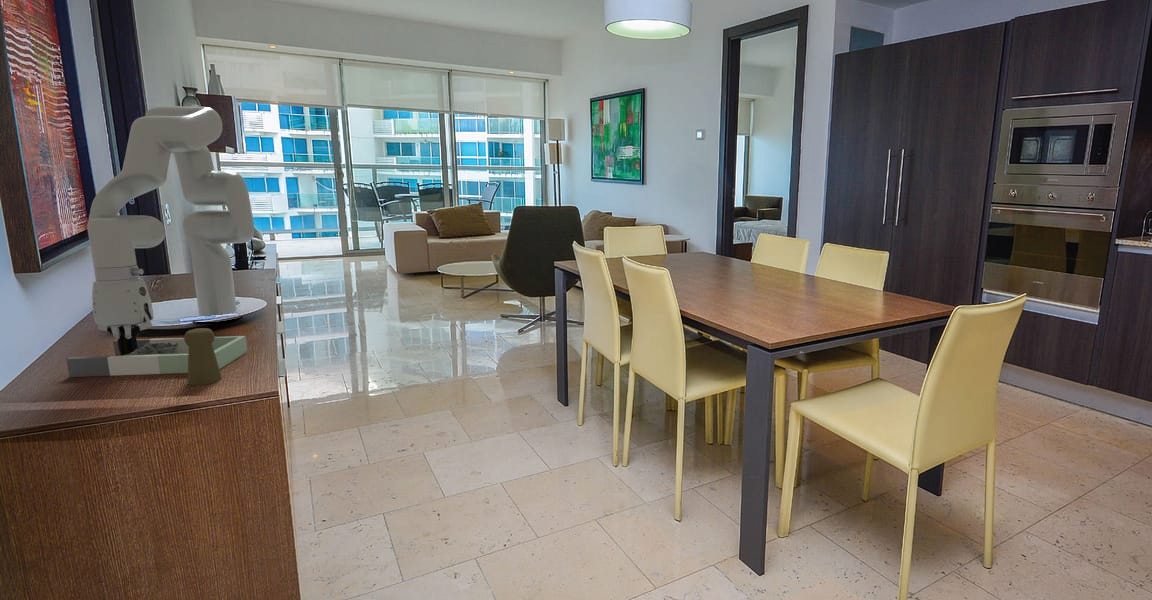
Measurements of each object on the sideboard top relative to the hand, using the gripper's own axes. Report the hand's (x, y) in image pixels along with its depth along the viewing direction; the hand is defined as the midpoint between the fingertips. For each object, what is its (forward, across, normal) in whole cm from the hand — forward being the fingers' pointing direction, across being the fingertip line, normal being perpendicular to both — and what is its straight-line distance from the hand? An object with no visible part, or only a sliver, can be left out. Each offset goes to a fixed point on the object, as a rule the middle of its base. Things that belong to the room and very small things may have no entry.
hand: (129, 354), depth 132 cm
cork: (+3, -23, +14) cm, 27 cm away
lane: (+2, -7, 0) cm, 7 cm away
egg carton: (+3, -8, 0) cm, 9 cm away
